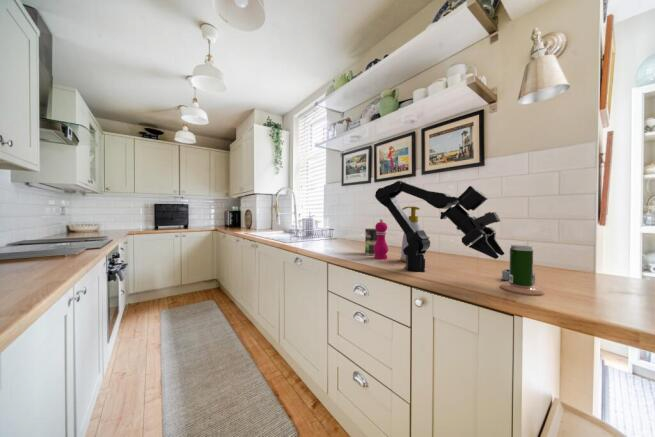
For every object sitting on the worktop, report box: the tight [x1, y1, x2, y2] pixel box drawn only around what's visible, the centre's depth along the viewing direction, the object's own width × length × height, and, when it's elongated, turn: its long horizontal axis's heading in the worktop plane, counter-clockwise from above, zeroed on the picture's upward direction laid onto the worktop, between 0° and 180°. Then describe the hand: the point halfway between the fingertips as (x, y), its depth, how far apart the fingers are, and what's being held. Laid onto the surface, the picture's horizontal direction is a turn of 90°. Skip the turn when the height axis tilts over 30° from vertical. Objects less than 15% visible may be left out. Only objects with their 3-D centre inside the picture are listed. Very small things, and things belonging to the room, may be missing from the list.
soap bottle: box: [400, 206, 425, 263], centre depth 111 cm, size 11×12×26 cm
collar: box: [501, 268, 536, 285], centre depth 79 cm, size 8×8×3 cm
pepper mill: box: [374, 218, 389, 260], centre depth 118 cm, size 7×7×20 cm
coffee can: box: [364, 228, 377, 257], centre depth 130 cm, size 10×10×14 cm
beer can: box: [508, 244, 534, 289], centre depth 69 cm, size 5×5×12 cm
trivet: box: [500, 280, 545, 296], centre depth 69 cm, size 10×10×1 cm
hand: (500, 256), depth 73 cm, fingers open, 9 cm apart
